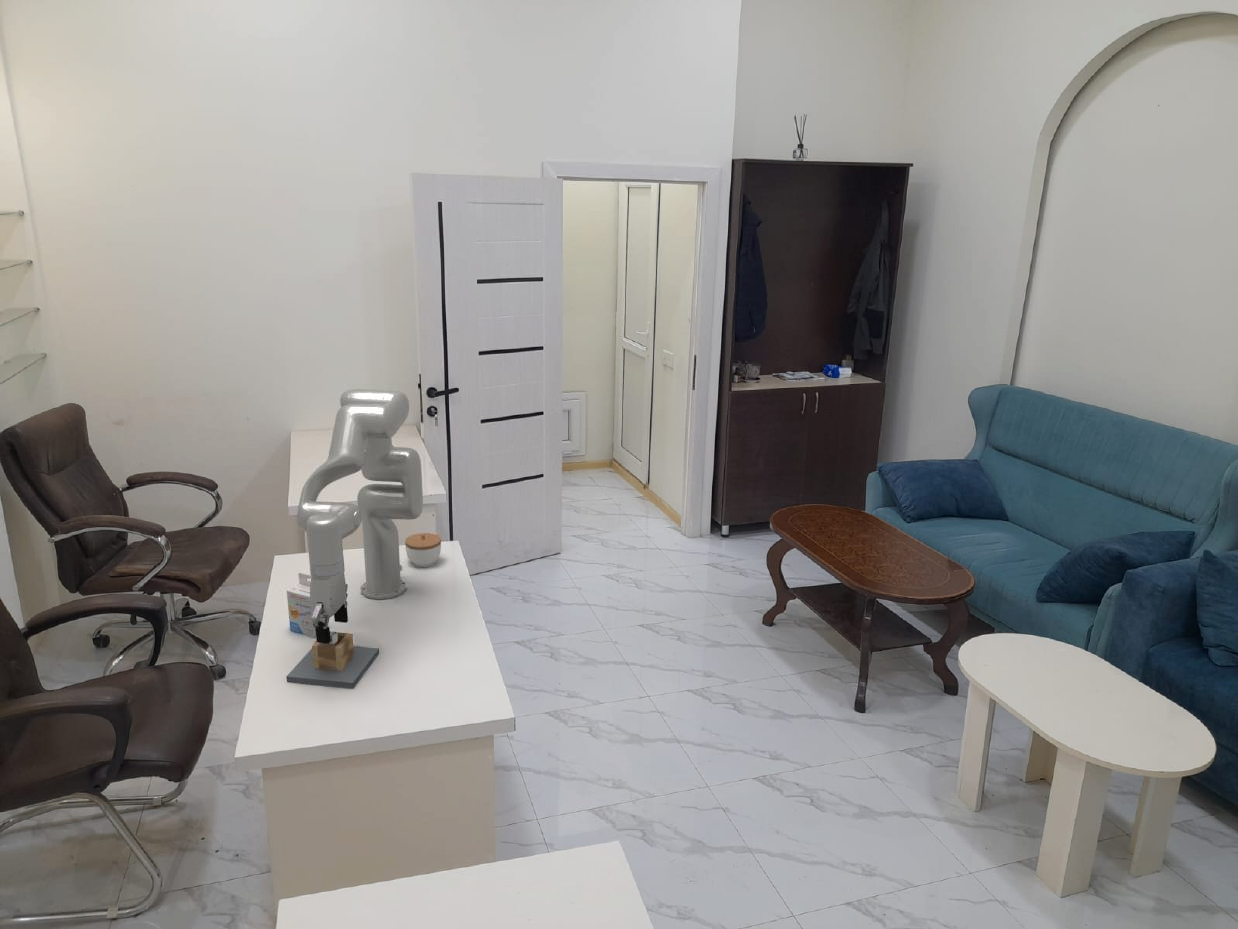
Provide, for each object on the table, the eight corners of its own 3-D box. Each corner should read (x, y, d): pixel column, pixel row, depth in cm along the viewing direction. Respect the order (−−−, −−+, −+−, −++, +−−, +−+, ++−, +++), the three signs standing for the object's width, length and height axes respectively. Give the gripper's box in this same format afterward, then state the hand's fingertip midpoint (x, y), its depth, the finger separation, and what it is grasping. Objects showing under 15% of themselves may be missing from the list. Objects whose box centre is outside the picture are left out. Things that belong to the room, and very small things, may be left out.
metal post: (331, 658, 213) (329, 631, 211) (341, 659, 213) (339, 631, 210) (327, 664, 211) (324, 635, 208) (336, 665, 211) (334, 636, 208)
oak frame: (326, 653, 215) (324, 631, 214) (354, 655, 215) (352, 633, 213) (313, 668, 209) (311, 645, 207) (342, 670, 208) (340, 648, 206)
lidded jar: (406, 571, 265) (404, 542, 262) (405, 557, 275) (404, 529, 272) (442, 569, 267) (441, 540, 264) (441, 554, 277) (440, 527, 274)
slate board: (317, 648, 221) (317, 642, 220) (379, 653, 219) (379, 648, 218) (286, 682, 206) (286, 676, 205) (353, 688, 204) (352, 682, 203)
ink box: (289, 631, 228) (284, 579, 224) (302, 623, 233) (298, 571, 228) (315, 638, 225) (310, 585, 221) (328, 630, 230) (324, 578, 225)
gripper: (327, 549, 213) (333, 613, 218) (294, 581, 197) (300, 649, 202) (357, 552, 212) (362, 615, 218) (326, 584, 196) (332, 652, 201)
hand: (332, 631), depth 210 cm, fingers open, 9 cm apart
